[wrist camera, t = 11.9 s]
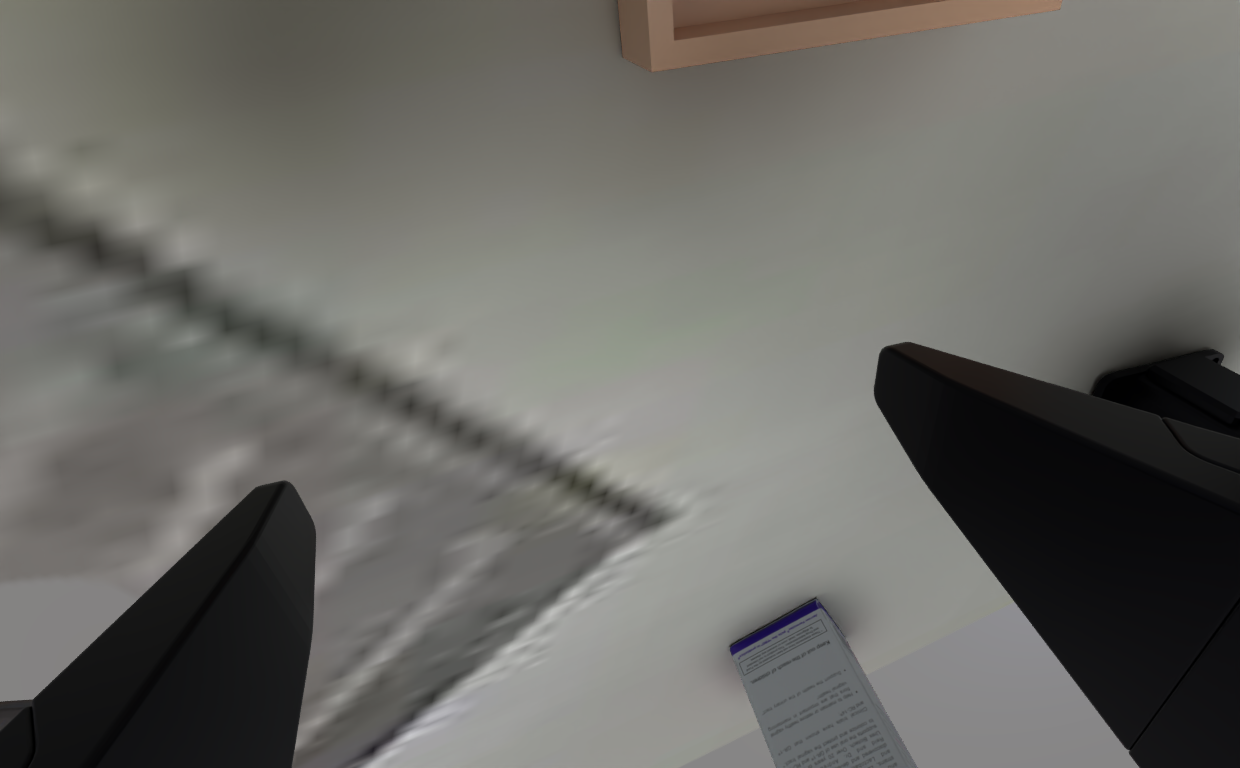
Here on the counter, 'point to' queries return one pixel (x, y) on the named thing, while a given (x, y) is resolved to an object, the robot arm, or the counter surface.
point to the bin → (785, 25)
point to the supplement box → (815, 696)
